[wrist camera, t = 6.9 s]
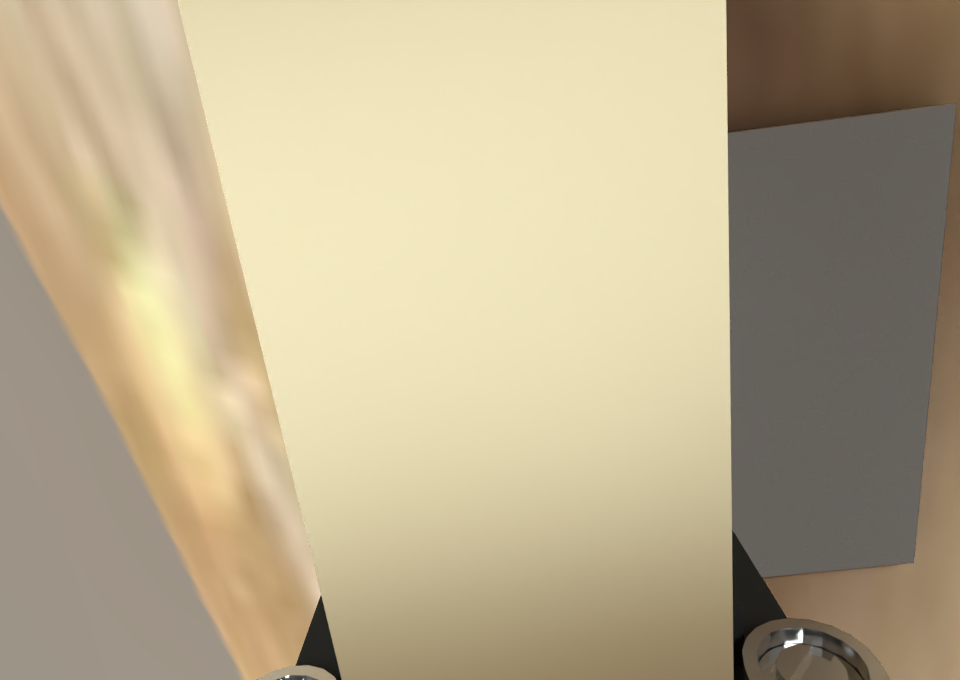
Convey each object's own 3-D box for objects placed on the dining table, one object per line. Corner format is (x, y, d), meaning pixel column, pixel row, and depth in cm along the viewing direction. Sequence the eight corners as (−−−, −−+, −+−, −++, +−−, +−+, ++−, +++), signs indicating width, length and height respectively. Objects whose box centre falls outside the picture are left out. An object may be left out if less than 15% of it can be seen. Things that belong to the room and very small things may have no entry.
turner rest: (698, 136, 28) (705, 136, 27) (939, 104, 27) (956, 103, 26) (707, 569, 34) (714, 582, 33) (901, 550, 34) (913, 562, 33)
